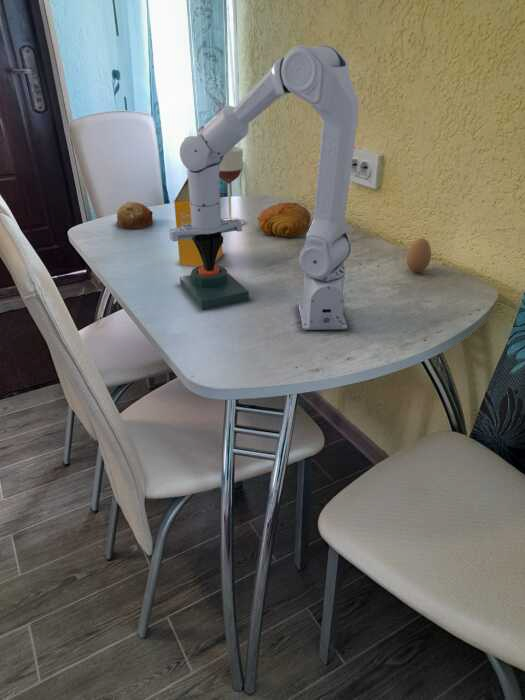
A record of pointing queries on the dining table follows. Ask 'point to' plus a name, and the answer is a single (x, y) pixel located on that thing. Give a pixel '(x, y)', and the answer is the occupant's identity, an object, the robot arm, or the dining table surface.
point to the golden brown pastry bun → (284, 219)
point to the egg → (418, 255)
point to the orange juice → (183, 217)
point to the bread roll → (134, 216)
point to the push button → (208, 273)
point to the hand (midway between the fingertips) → (208, 269)
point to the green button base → (213, 289)
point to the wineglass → (231, 170)
